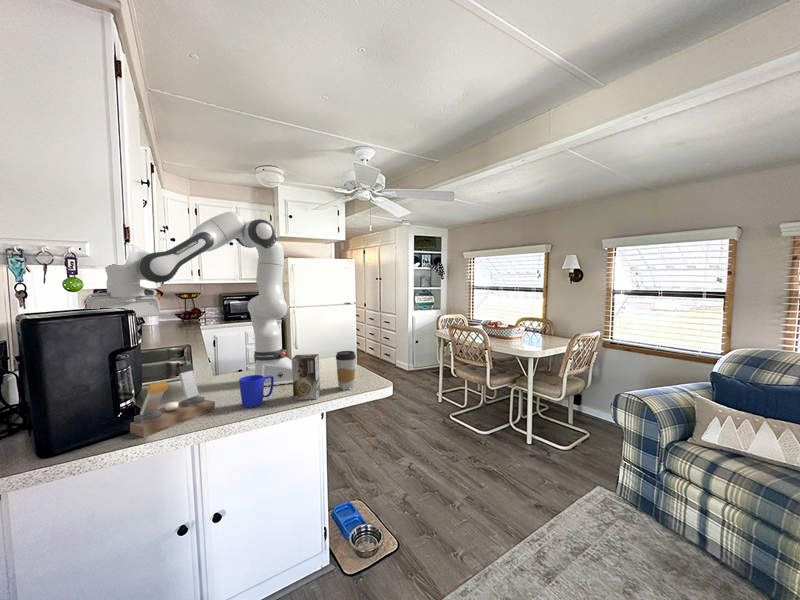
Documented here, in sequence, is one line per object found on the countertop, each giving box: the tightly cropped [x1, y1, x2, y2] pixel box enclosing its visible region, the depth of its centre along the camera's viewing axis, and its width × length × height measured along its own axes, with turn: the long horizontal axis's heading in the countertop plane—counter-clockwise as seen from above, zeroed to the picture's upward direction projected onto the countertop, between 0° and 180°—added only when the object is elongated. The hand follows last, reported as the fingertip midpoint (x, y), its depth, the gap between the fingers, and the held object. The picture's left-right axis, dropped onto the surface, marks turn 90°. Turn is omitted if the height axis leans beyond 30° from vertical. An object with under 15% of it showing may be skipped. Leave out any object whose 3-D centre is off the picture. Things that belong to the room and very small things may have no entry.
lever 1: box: [139, 380, 170, 416], centre depth 98 cm, size 4×2×11 cm
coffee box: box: [291, 353, 321, 401], centre depth 126 cm, size 9×6×16 cm
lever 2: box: [175, 363, 200, 400], centre depth 113 cm, size 4×2×11 cm, turn 155°
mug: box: [238, 374, 274, 408], centre depth 120 cm, size 8×12×10 cm
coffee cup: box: [335, 350, 356, 389], centre depth 136 cm, size 8×8×15 cm
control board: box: [130, 395, 216, 438], centre depth 106 cm, size 22×11×4 cm, turn 155°
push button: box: [164, 401, 179, 411], centre depth 106 cm, size 4×4×2 cm
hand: (127, 331), depth 112 cm, fingers closed
